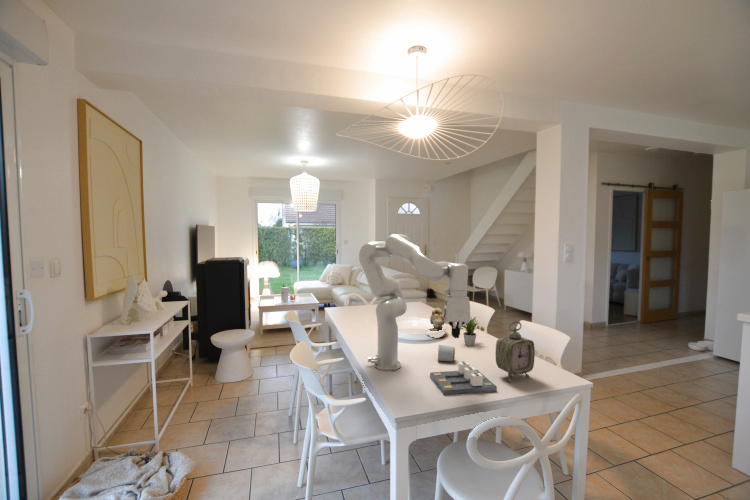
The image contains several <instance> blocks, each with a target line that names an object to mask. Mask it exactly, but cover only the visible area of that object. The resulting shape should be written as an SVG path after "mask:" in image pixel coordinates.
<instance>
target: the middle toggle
mask: <svg viewBox="0 0 750 500" xmlns="http://www.w3.org/2000/svg"><path fill="white" fill-rule="evenodd" d="M476 370H477V369H476V368H475V367H474V366H472V367H471V366H469V367H467V368H464V378H465V379H466V380H469V379H470V374H473V373H476Z"/></svg>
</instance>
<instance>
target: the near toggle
mask: <svg viewBox="0 0 750 500" xmlns="http://www.w3.org/2000/svg"><path fill="white" fill-rule="evenodd" d="M480 373H481V372H480ZM480 373H473V374H470V384H471V385H472V386H482V381H483V376H482V375H481V374H480Z"/></svg>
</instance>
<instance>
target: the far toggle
mask: <svg viewBox="0 0 750 500" xmlns="http://www.w3.org/2000/svg"><path fill="white" fill-rule="evenodd" d="M457 366H458V367H457V369H458V370H457V371H458V372H459V373H460V374H464V368H467V367H470V363H469V362H468V361H464V360H463V361H461V362H460V361H459V362H458V365H457Z"/></svg>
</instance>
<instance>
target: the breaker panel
mask: <svg viewBox="0 0 750 500" xmlns="http://www.w3.org/2000/svg"><path fill="white" fill-rule="evenodd" d="M476 373H480V374H481V375H482V376H483V381H482V386H472V385H471V384H470V379H469V380H466V379H465V378H464V374H460V373H459V372H458V370H449V371H431V372H430V373H429V377H430V379H431V380H432V382H433V383H434V384H435V385H436V387H437V389H438V390H439V391H440V393H442V395H443V396H455V395H469V394H483V393H495V392H496V393H497V389H498V387H497V386H496V384H495V383H493V382H492V381H491V380H490V379H489V378H488V377H486V376H485V375H484V374H483V373H482V372H481V371H480V370H478V369H476Z"/></svg>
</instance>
